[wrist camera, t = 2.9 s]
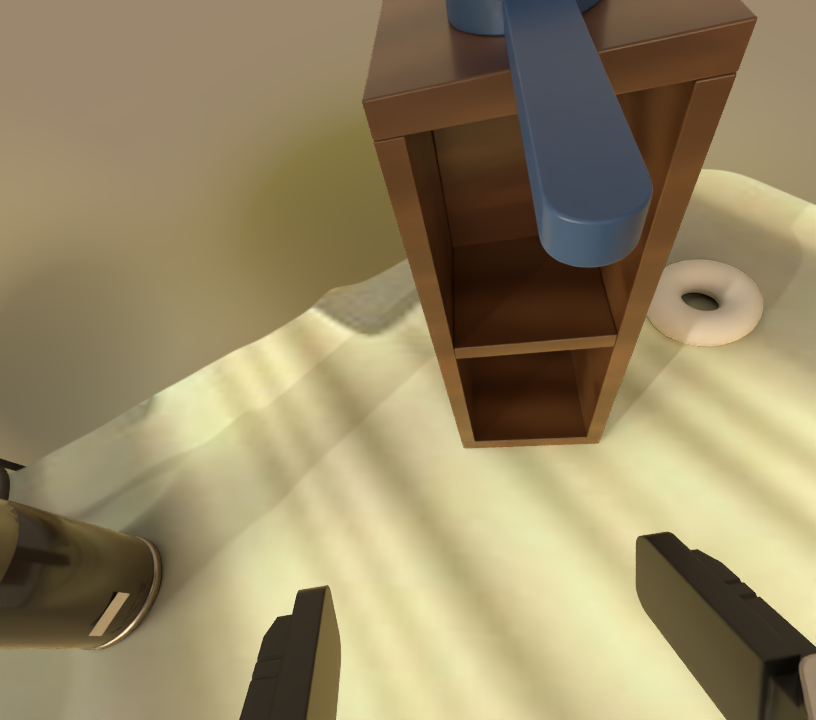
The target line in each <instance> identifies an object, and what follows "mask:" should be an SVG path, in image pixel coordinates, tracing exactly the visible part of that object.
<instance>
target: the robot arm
mask: <svg viewBox="0 0 816 720" xmlns="http://www.w3.org/2000/svg"><path fill="white" fill-rule="evenodd" d="M25 467H26V466H23V465H20V464H17V463H13V462H10V461H7V460H4V459H1V458H0V649H82V650H100V649H105V648H108V647H111V646H113V645H115V644H117V643H119V642H120V641H122V640H123V639H124V638H126V637H127V636H128V635H129V634H131V633H132V632H133V631H134V630H135V629H136V628H137V626H138V625H139V624H140V623H141V622H142V620H143V619H144V618H145V616H146V615H147V613H148V612H149V610H150V608H151V606H152V604H153V602H154V600H155V597H156V595H157V592H158V589H159V585H160V580H161V560H160V556H159V553H158V551H157V549H156V547H155V546H154V545H153V544H152V543H151V542H150V541H148V540H147V539H145V538H142V537H138V536H135V535H127V534H123V533H120V532H116V531H113V530H110V529H106V528H103V527H99V526H96V525H92V524H89V523H85V522H82V521H78V520H75V519H71V518H68V517H64V516H61V515H57V514H54V513H50V512H47V511H43V510H40V509H36V508H33V507H29V506H26V505H22V504H19V503H15V502H12V501H8V498H9V490H10V480H9V476H8V473H7V471H6V470H5V468H6V469H10V470H13V471H18V470H21V469H23V468H25ZM636 590H637V594H638V597H639V600H640V602H641V605H642V607H643V609H644V610H645V612H646V613H647V615H648V616H649V617H650V619H651V620H652V621H653V623H654V624H655V625H656V627H657V628H658V629H659V631H660V632H661V633H662V635H663V636H664V637H665V639H666V640H667V641H668V643H669V644H670V645H671V647H672V648H673V649H674V651H675V652H676V653H677V655H678V656H679V657H680V659H681V660H682V661H683V663H684V664H685V665H686V667H687V668H688V669H689V671H690V672H691V673H692V675H693V676H694V677H695V679H696V680H697V681H698V682H699V684H700V685H701V686H702V688H703V689H704V690H705V692H706V693H707V694H708V696H709V697H710V698H711V700H712V701H713V702H714V704H715V705H716V706H717V708H718V709H719V710H720V712H721V713H722V714H723V716H724V717H725V718H726V720H816V647H815V646H814V645H813V644H812V643H811V642H810V641H809V640H808V639H806V638H805V637H804V636H803V635H802V634H801V633H800V632H799V631H797V630H796V629H795V628H794V627H793V626H792V625H791V624H790V623H789V622H787V621H786V620H785V619H784V618H783V617H782V616H781V615H780V614H778V613H777V612H776V611H775V610H774V609H773V608H772V607H771V606H770V605H768V604H767V603H766V602H765V601H764V600H763V599H762V598H761V597H757V596H756V593H755V592H754V591H753V590H752V589H751V588H749V587H748V586H747V585H746V584H745V583H744V582H743V583H742V582H741V581H740V579H739V578H738V577H737V576H736V575H735V574H734V573H733V572H732V571H730V570H729V569H728V568H727V567H726V566H725V565H724V564H723V563H721V562H720V561H718V560H716V559H714V558H712V557H711V556H709V555H707V554H705V553H703V552H701V551H699V550H698V549H696V550H690V549H689V548H688V547H687V546H685V545H684V544H683V543H682V542H681V541H680V540H679V539H678V538H677V537H676V536H675V535H674V534H672V533H671V532H662V533H655V534H649V535H643V536H639V537H638V538H637V540H636ZM257 659H258V661H257V663H256V665H255V668H254V672H253V675H252V681H251V682H250V685H249V689H248V692H247V695H246V699H245V702H244V706H243V709H242V713H241V716H240V719H239V720H336V713H337V701H338V690H339V678H340V666H341V644H340V635H339V630H338V625H337V620H336V615H335V610H334V605H333V600H332V596H331V591H330V588H329V586H328V585H327V586H321V587H315V588H309V589H303V590H299V591H298V593H297V596H296V600H295V604H294V609H293V613H292V615H287V616H280V617H277V618H276V620H275V621H274V623H273V624H272V626H271V627H270V628H269V630H268V631H267V633H266V634H265V636H264V637H263V641H262V644H261V648H260V651H259V654H258V658H257Z"/></svg>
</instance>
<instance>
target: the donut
mask: <svg viewBox="0 0 816 720" xmlns="http://www.w3.org/2000/svg"><path fill="white" fill-rule="evenodd" d="M687 293H702V294H705V295H708V296H710V297H711V298H713V299H714V300H715V301H716V302H717V303H718V304H719V308H718V309H716V310H713V311H702V310H697V309H694V308H692V307H690V306H688V305H687V304H686V303H684V301H683V300H682V298H681V296H682V295H684V294H687ZM762 312H763V298H762V295H761V293H760V290H759V288H758V286H757V285H756V284H755V283H754V281H753V280H752V279H751V278H750V277H749V276H748V275H746V274H745V273H743V272H741V271H740V270H738V269H737V268H735V267H733V266H730V265H727V264H725V263H722V262H719V261H712V260H705V259H697V260H684V261H680V262H677V263H673V264H670V265H668V266H667V267H665V268H664V270H663V273H662V275H661V278H660V281H659V283H658V286H657V289H656V291H655V294H654V297H653V299H652V302H651V305H650V307H649V310H648V313H647V317H648V318H649V320H650V321H651V323H652V324H653V326H654V327H655V328H657V329H658V330H659V331H660V332H662V333H663V334H664V335H665V336H667V337H670V338H672V339H674V340H676V341H678V342H681V343H685V344H690V345H694V346H719V345H723V344H727V343H731V342H734V341H737V340H739V339H740V338H742V337H743V336H745V335H747V334H748V333H750V332H751V331H752V330H753V329H754V328H755V326H756V325H757V323H758V322H759V320H760V319H761V316H762Z"/></svg>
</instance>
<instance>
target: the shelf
mask: <svg viewBox="0 0 816 720" xmlns="http://www.w3.org/2000/svg"><path fill="white" fill-rule="evenodd" d="M581 15H582V17H583V20H584V22H585V24H586V27H587V29H588V31H589V34H590V36H591V38H592V41H593V43H594V45H595V48H596V50H597V52H598V55H599V57H600V60H601V62H602V64H603V67H604V69H605V71H606V74H607V76H608V78H609V81H610V83H611V85H612V88H613V90H614V92H615V95H616V97H617V99H618V102H619V104H620V106H621V109H622V111H623V113H624V116H625V118H626V121H627V123H628V125H629V128H630V130H631V132H632V135H633V137H634V139H635V142H636V144H637V146H638V149H639V151H640V153H641V156H642V158H643V160H644V163H645V165H646V167H647V170H648V172H649V174H650V177H651V181H652V185H653V195H652V199H651V202H650V206H649V209H648V213H647V216H646V220H645V223H644V226H643V230H642V233H641V237H640V240H639V242H638V244H637V246H636V247H635V248H634V250H633V251H632V252H631V253H630V254H628V255H627V256H626V257H624V258H623V259H621V260H619V261H617V262H615V263H612V264H609V265H605V266H600V267H591V268H588V267H576V266H571V265H567V264H564V263H562V262H560V261H558V260H556V259H554V258H553V257H552V256H550V255H549V254H548V253H547V252H546V250H545V249H544V248H543V246H542V244H541V241H540V238H539V232H538V226H537V221H536V215H535V209H534V203H533V198H532V192H531V186H530V180H529V175H528V169H527V163H526V157H525V152H524V146H523V140H522V134H521V129H520V123H519V117H518V111H517V105H516V100H515V94H514V88H513V82H512V77H511V71H510V65H509V59H508V54H507V48H506V42H505V36H504V35H497V36H487V35H475V34H470V33H465V32H463V31H460V30H458V29H456V28H454V27H453V26H452V25H451V24H450V22H449V20H448V17H447V10H446V1H445V0H383V2H382V7H381V11H380V16H379V21H378V26H377V31H376V36H375V41H374V45H373V50H372V55H371V60H370V65H369V70H368V75H367V80H366V85H365V90H364V94H363V100H362V104H363V107H364V111H365V114H366V117H367V121H368V124H369V128H370V131H371V135H372V138H373V140H374V146H375V149H376V152H377V156H378V159H379V162H380V166H381V169H382V173H383V176H384V179H385V183H386V186H387V190H388V193H389V196H390V200H391V203H392V207H393V210H394V213H395V217H396V220H397V224H398V227H399V230H400V234H401V237H402V241H403V244H404V247H405V251H406V254H407V258H408V261H409V264H410V268H411V271H412V274H413V278H414V281H415V285H416V288H417V291H418V295H419V298H420V302H421V305H422V308H423V312H424V315H425V319H426V322H427V325H428V329H429V332H430V336H431V339H432V342H433V346H434V349H435V352H436V356H437V359H438V363H439V366H440V369H441V373H442V376H443V380H444V383H445V386H446V390H447V393H448V397H449V400H450V403H451V407H452V410H453V414H454V417H455V420H456V424H457V427H458V430H459V434H460V437H461V441H462V444H463V447H464V448H484V447H511V446H538V445H565V444H592V443H599V441H600V438H601V436H602V433H603V430H604V428H605V425H606V422H607V419H608V417H609V414H610V411H611V409H612V406H613V403H614V401H615V398H616V395H617V393H618V390H619V387H620V385H621V382H622V379H623V377H624V374H625V371H626V369H627V366H628V363H629V361H630V358H631V355H632V353H633V350H634V347H635V345H636V342H637V339H638V337H639V334H640V331H641V329H642V326H643V323H644V321H645V318H646V315H647V313H648V310H649V307H650V305H651V302H652V299H653V297H654V294H655V291H656V289H657V286H658V283H659V281H660V278H661V275H662V273H663V270H664V267H665V265H666V262H667V259H668V256H669V254H670V251H671V248H672V246H673V243H674V240H675V238H676V235H677V232H678V230H679V227H680V224H681V222H682V219H683V216H684V214H685V211H686V208H687V206H688V203H689V200H690V198H691V195H692V192H693V190H694V187H695V184H696V182H697V179H698V176H699V174H700V171H701V168H702V166H703V163H704V160H705V158H706V155H707V152H708V150H709V147H710V144H711V142H712V139H713V136H714V133H715V131H716V128H717V126H718V123H719V120H720V118H721V115H722V112H723V110H724V107H725V104H726V101H727V99H728V96H729V93H730V91H731V88H732V85H733V82H734V80H735V77H736V71H738V69H739V66H740V64H741V61H742V58H743V56H744V53H745V50H746V48H747V45H748V42H749V39H750V37H751V34H752V32H753V29H754V26H755V24H756V21H757V16H756V15H755V14H754V13H753V12H752V11H751V10H750V9H749V8H748V7H747V6H746V5H745V4H744V3H743V2H742V0H601V1H599V2H598V3H597V4H596V5H594V6H593V7H591V8H590V9H588V10H587V11H585V12H583V13H581Z"/></svg>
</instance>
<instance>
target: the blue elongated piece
mask: <svg viewBox="0 0 816 720" xmlns="http://www.w3.org/2000/svg"><path fill="white" fill-rule="evenodd" d="M445 1H446V10H447V17H448V20H449V22H450V24H451V25H452V26H453V27H454V28H456V29H458V30H460V31H463V32H465V33H470V34H475V35H487V36H497V35H504V36H505V42H506V48H507V54H508V59H509V65H510V71H511V77H512V82H513V88H514V94H515V100H516V105H517V111H518V117H519V123H520V129H521V134H522V140H523V146H524V152H525V157H526V163H527V169H528V175H529V180H530V186H531V192H532V198H533V203H534V209H535V215H536V221H537V226H538V232H539V238H540V241H541V244H542V246H543V248H544V249H545V250H546V252H547V253H548V254H549V255H550V256H552V257H553V258H554V259H556V260H558V261H560V262H562V263H564V264H567V265H571V266H576V267H588V268H591V267H600V266H605V265H609V264H612V263H615V262H617V261H619V260H621V259H623V258H624V257H626V256H627V255H628V254H630V253H631V252H632V251H633V250H634V248H635V247H636V246H637V244H638V242H639V240H640V237H641V233H642V230H643V226H644V223H645V220H646V216H647V213H648V209H649V206H650V202H651V199H652V195H653V185H652V181H651V177H650V174H649V172H648V170H647V167H646V165H645V163H644V160H643V158H642V156H641V153H640V151H639V149H638V146H637V144H636V142H635V139H634V137H633V135H632V132H631V130H630V128H629V125H628V123H627V121H626V118H625V116H624V113H623V111H622V109H621V106H620V104H619V102H618V99H617V97H616V95H615V92H614V90H613V88H612V85H611V83H610V81H609V78H608V76H607V74H606V71H605V69H604V67H603V64H602V62H601V60H600V57H599V55H598V52H597V50H596V48H595V45H594V43H593V41H592V38H591V36H590V34H589V31H588V29H587V27H586V24H585V22H584V20H583V17H582V15H581V13H583V12H585V11H587V10H588V9H590V8H591V7H593V6H594V5H596V4H597V3H598V2H599V1H601V0H445Z"/></svg>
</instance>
